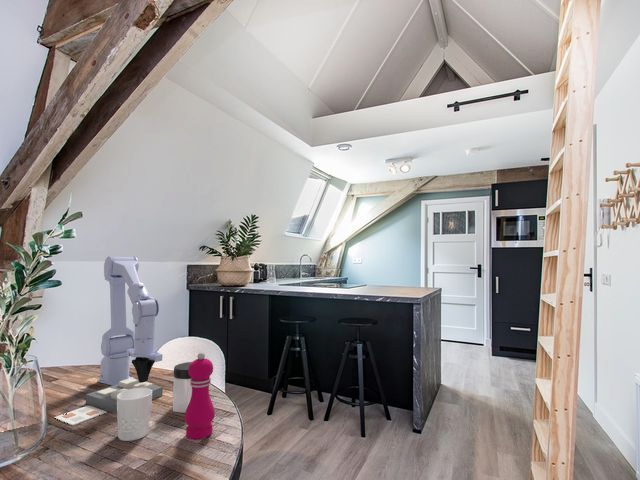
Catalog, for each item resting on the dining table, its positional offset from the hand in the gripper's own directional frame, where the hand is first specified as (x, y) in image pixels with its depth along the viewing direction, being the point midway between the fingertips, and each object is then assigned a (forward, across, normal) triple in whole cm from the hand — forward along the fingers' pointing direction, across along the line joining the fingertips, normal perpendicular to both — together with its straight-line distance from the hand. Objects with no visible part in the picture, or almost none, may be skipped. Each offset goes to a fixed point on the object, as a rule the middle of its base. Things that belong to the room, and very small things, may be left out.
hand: (143, 381), depth 113 cm
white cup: (+5, +19, -16) cm, 26 cm away
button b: (+3, -7, 0) cm, 7 cm away
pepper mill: (+5, +33, -8) cm, 34 cm away
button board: (+5, -4, -4) cm, 7 cm away
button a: (+3, -7, -7) cm, 10 cm away
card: (+5, -4, -16) cm, 18 cm away
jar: (+5, +18, +2) cm, 19 cm away
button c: (+3, 0, -7) cm, 7 cm away
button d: (+2, 0, 0) cm, 2 cm away
